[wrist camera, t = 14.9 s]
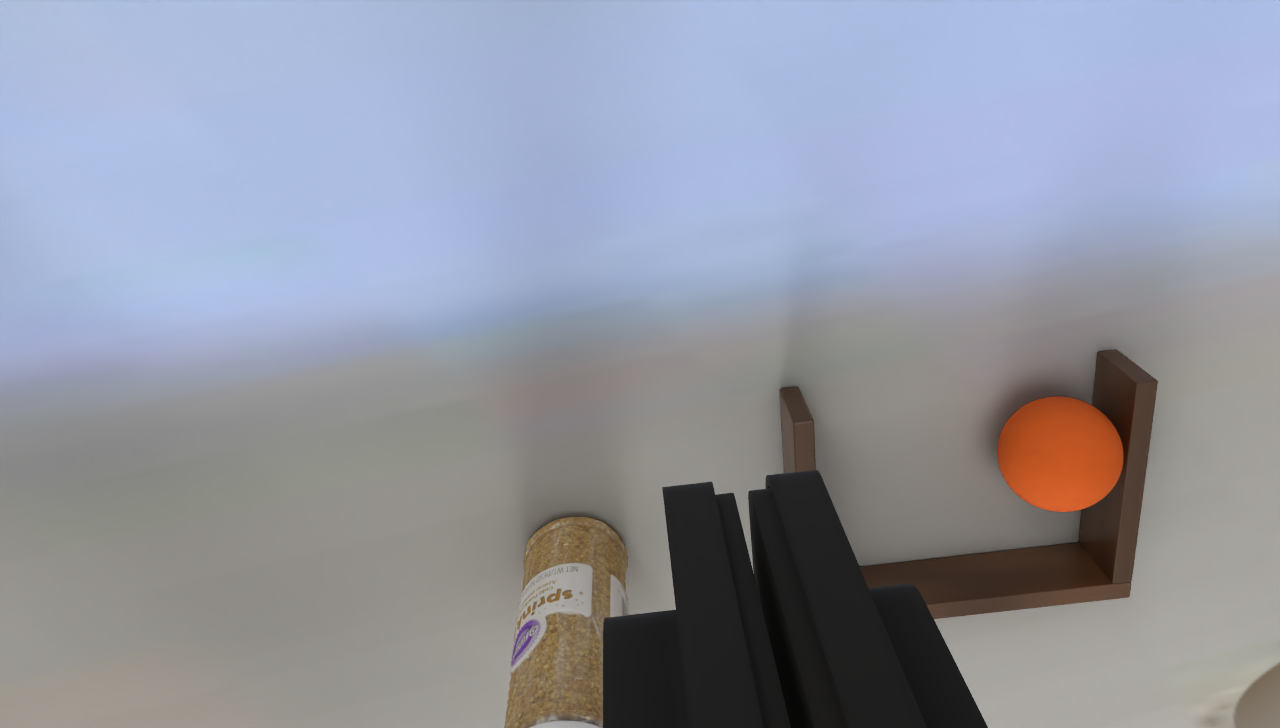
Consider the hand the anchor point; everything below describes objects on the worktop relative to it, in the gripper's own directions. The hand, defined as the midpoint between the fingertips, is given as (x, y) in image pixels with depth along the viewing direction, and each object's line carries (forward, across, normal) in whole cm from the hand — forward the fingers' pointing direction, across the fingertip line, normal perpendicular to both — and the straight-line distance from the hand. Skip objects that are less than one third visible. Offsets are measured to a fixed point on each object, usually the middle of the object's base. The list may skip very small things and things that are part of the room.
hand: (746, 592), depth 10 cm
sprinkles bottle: (+25, +5, +17) cm, 31 cm away
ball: (+23, -15, +13) cm, 30 cm away
